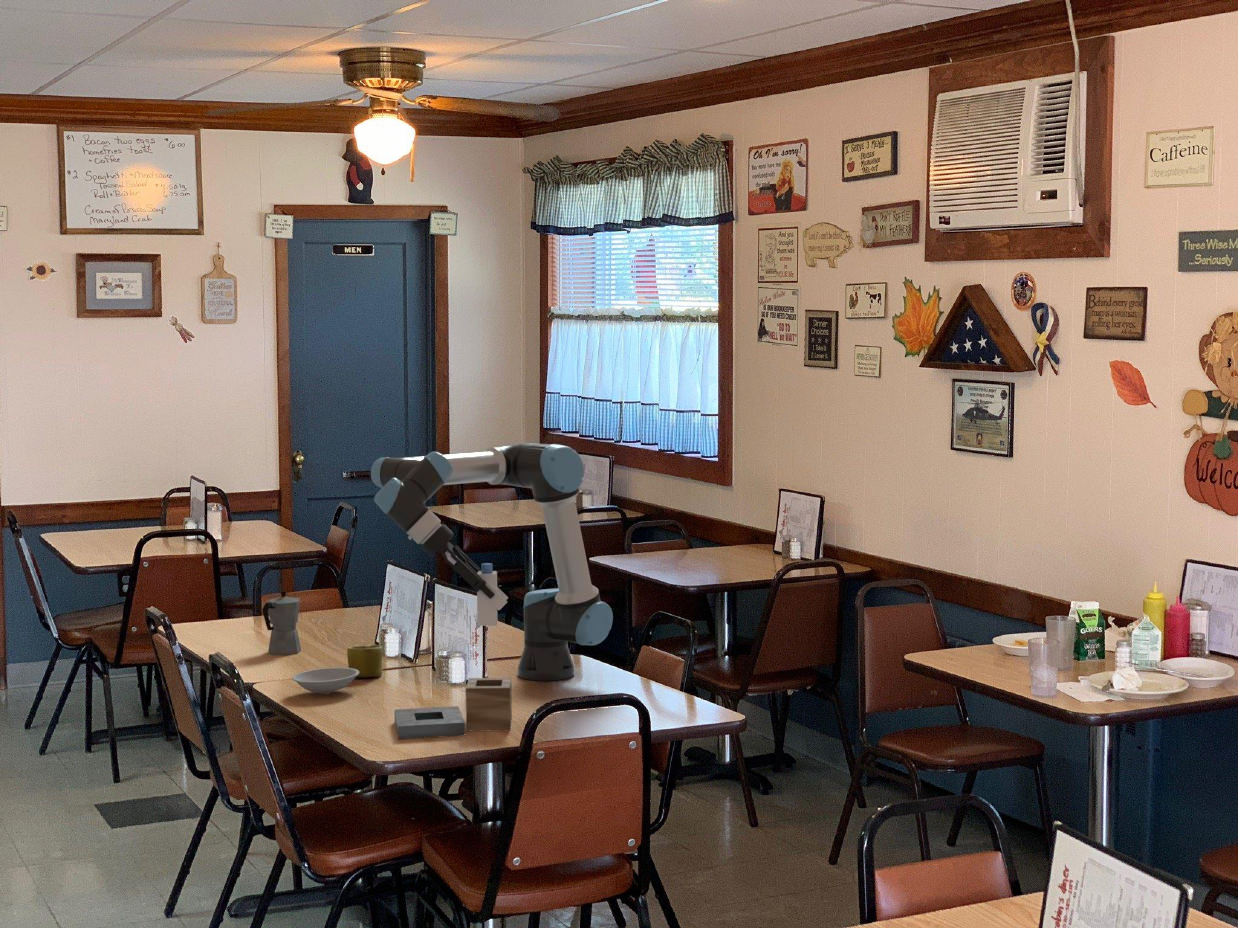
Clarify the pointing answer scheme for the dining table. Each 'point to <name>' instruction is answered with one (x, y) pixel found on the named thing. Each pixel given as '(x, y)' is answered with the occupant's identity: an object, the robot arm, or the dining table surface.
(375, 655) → the mug
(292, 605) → the coffeepot
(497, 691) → the upper socket
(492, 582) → the plug
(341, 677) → the dish
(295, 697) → the dining table surface
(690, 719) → the dining table surface
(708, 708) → the dining table surface
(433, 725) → the lower socket
